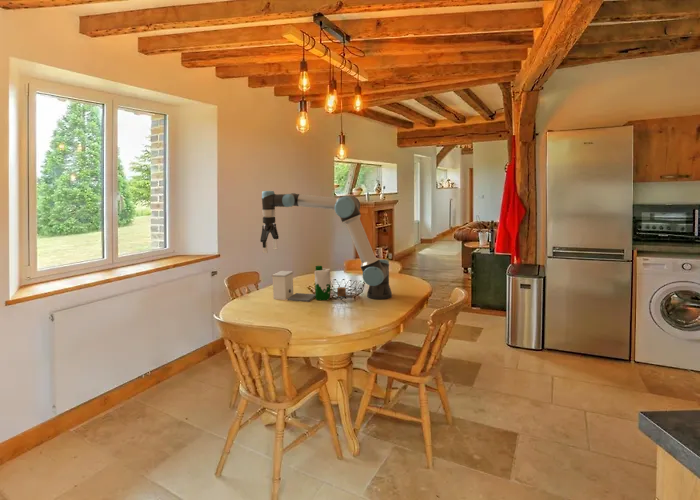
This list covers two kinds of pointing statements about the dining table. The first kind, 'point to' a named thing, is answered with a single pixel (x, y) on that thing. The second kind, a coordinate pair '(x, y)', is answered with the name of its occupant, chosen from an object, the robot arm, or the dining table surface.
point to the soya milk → (322, 283)
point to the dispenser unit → (282, 285)
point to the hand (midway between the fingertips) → (270, 251)
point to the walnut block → (341, 291)
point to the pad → (302, 297)
